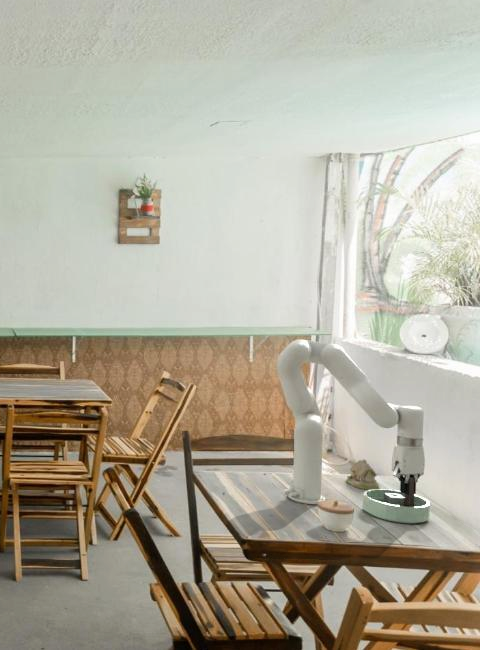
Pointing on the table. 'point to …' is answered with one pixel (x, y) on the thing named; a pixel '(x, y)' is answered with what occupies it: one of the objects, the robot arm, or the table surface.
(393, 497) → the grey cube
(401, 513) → the bowl
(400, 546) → the table surface
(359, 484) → the ceramic model
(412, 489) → the muddler
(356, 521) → the table surface
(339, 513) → the trinket box
